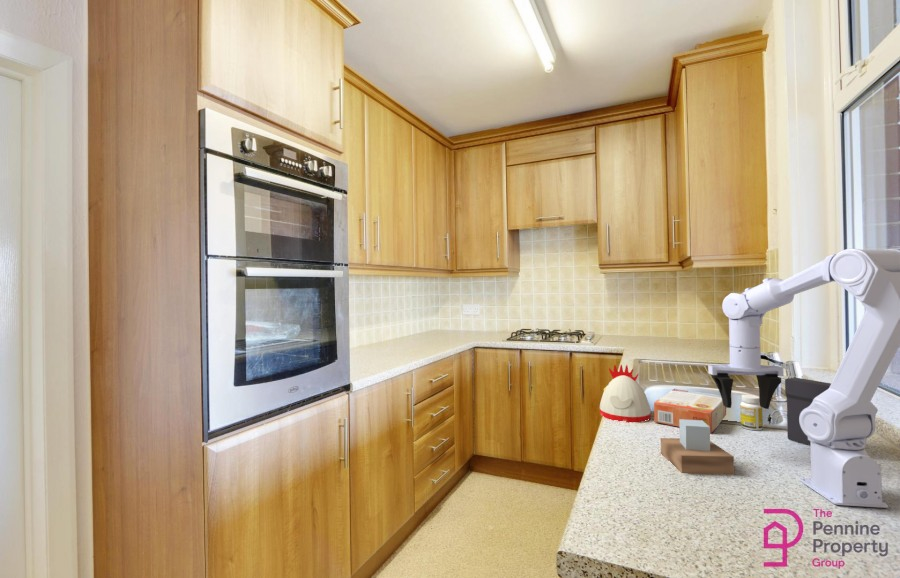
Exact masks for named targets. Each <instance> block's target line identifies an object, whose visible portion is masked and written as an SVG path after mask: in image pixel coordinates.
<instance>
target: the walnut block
mask: <svg viewBox="0 0 900 578" xmlns="http://www.w3.org/2000/svg"><path fill="white" fill-rule="evenodd" d="M661 454H662V456H663V458H664V459H665V460H667V461H668V462H669V461H670V462H671V463H672V464H673V465H674V466H675V467H676V468H675V469H676V470H678V471H679V472H680V473H681V474H682V473H688V474H689V475H690V474H692V475H693V474H694V475H735V468H734V467H735V460H734V459H735V457H734V455H732V454H731V453H729V452H728V451H726V450H724V449H723V448H721V446H718V445H717V444H715V443H714V442H713V441H711V440H710V451H699V450H686V449H685V448H684V446H683V445H682V444H681V443H680V437H678V438H675V437H673V438H672V437H669V438H667V437H661V438H660V455H661ZM670 462H669V463H670ZM671 463H670V464H671ZM672 464H671V465H672ZM673 465H672V466H673ZM674 466H673V467H674Z"/></svg>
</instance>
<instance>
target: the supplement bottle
mask: <svg viewBox="0 0 900 578" xmlns="http://www.w3.org/2000/svg"><path fill="white" fill-rule="evenodd" d="M739 409H740V410H739V412H740V414H739V415H740V416H739V417H740V427H741V428H743V429H745V430H749V431H762V430H763V429H764V428H763V424H764V423H763V407H761V406H760V402H759V395H756V394H755V395H754V394H741V402H740V404H739Z"/></svg>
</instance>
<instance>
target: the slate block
mask: <svg viewBox="0 0 900 578" xmlns="http://www.w3.org/2000/svg"><path fill="white" fill-rule="evenodd" d="M679 424H680V427H679V438H680V443H681V444H682V445H683V446H684V448H685V449H686V450H699V451H710V441H711V433H710V427H709V426H708V425H707V424H706V423H705V422H703V421H702V420H685V419H679Z"/></svg>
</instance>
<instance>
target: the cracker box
mask: <svg viewBox="0 0 900 578" xmlns="http://www.w3.org/2000/svg"><path fill="white" fill-rule="evenodd" d="M653 410H654V411H653V416H654V417H653V419H654V420H653V421H654V423H659V424H663V425H668V426H674V427H678V428H680V424H679V419H685V420H702V421H703V422H705V423H706V424H707V425H708V426H709V427H710V434H713V432H714V431H715V430H716V429H717V427H718V426H719V425H720V424H721V422H722V421H723V419H724V418H725V417H726V416H727V407H725V406H723V401H722V398H721V394H720V395H718V394H714V393H707V392H699V391H692V390H688V389H687V390H685V389H681V388H680V389H678V388H674V389H672V390H670V391H669V392H667V393H666V394H664V395H663V396H662V397H660V398H658V399H656V400H655V401H654V402H653Z"/></svg>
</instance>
